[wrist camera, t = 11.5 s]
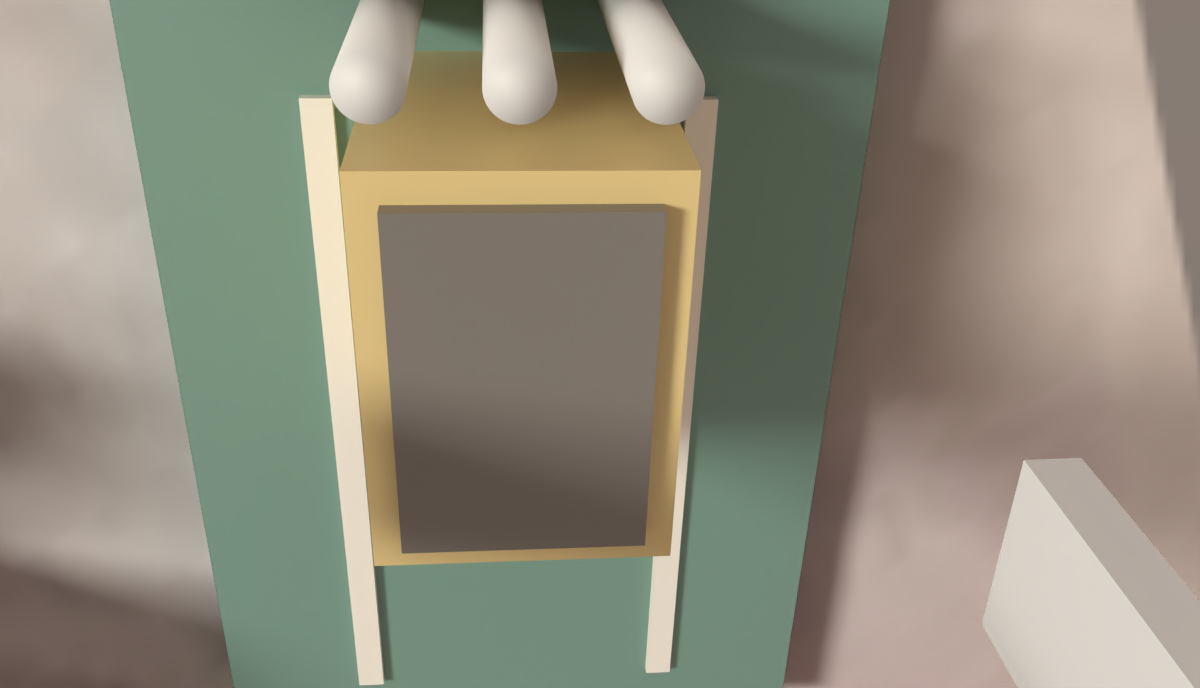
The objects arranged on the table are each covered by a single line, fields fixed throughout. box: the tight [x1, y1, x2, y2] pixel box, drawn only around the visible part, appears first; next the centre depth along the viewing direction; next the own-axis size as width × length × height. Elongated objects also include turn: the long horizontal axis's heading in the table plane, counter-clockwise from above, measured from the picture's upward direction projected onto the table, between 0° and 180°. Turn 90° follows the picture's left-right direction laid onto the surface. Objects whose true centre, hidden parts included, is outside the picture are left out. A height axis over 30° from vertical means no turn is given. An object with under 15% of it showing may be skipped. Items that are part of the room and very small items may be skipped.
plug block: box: [339, 51, 701, 566], centre depth 20 cm, size 7×5×6 cm
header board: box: [110, 0, 890, 688], centre depth 22 cm, size 22×14×8 cm, turn 178°
